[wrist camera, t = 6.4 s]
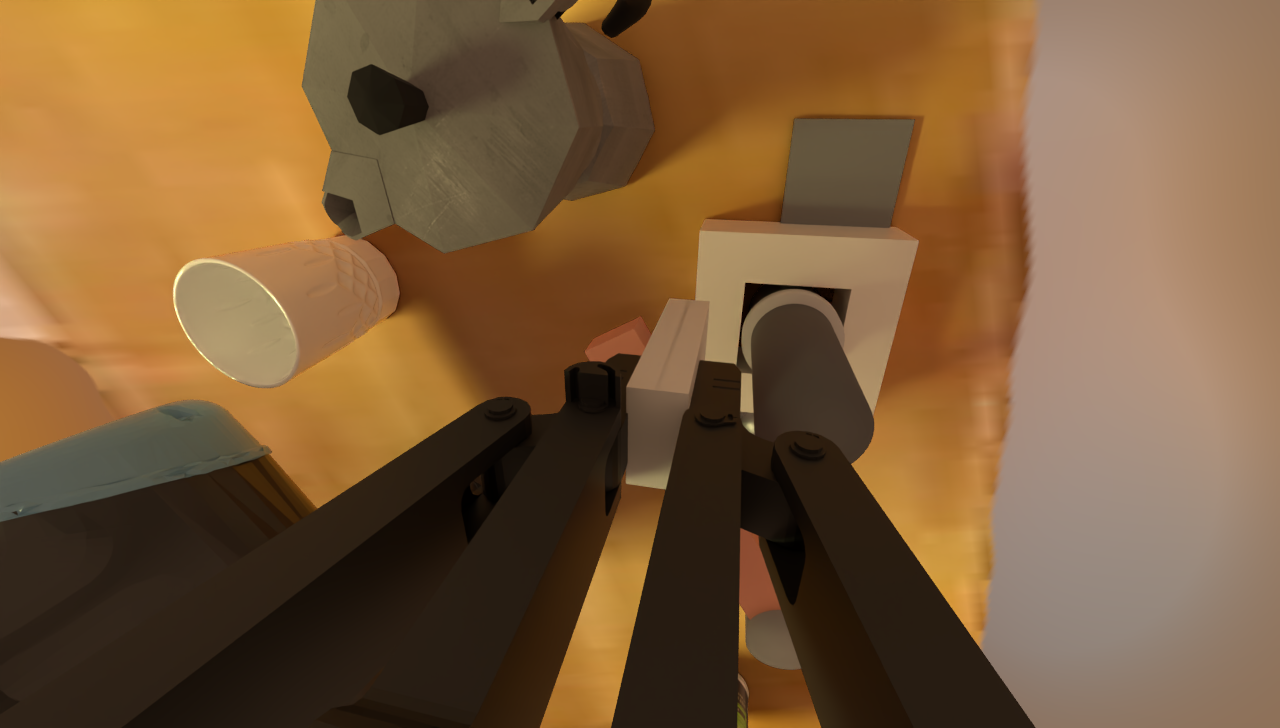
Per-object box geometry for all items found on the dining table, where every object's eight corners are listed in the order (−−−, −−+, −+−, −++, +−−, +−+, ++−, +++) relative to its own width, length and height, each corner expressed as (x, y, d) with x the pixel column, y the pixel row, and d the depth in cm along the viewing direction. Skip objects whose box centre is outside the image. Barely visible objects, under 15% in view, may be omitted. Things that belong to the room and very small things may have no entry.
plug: (820, 352, 32) (871, 493, 19) (737, 345, 32) (734, 475, 20) (836, 271, 29) (905, 373, 17) (746, 266, 30) (749, 359, 18)
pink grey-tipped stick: (828, 620, 22) (836, 663, 20) (762, 632, 23) (763, 674, 21) (657, 305, 17) (647, 325, 15) (583, 340, 18) (566, 363, 16)
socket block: (856, 393, 32) (870, 425, 29) (693, 377, 34) (688, 405, 31) (896, 226, 28) (919, 240, 24) (704, 218, 29) (699, 230, 26)
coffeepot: (551, 248, 32) (364, 362, 16) (454, 124, 30) (125, 114, 14) (751, 83, 26) (767, 5, 10) (648, -89, 24) (456, -545, 8)
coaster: (885, 235, 28) (887, 237, 27) (779, 230, 29) (779, 232, 28) (911, 119, 25) (914, 119, 25) (794, 118, 26) (795, 118, 26)
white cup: (299, 222, 35) (149, 252, 26) (397, 230, 34) (274, 264, 25) (327, 323, 38) (203, 380, 30) (416, 333, 37) (314, 396, 28)
